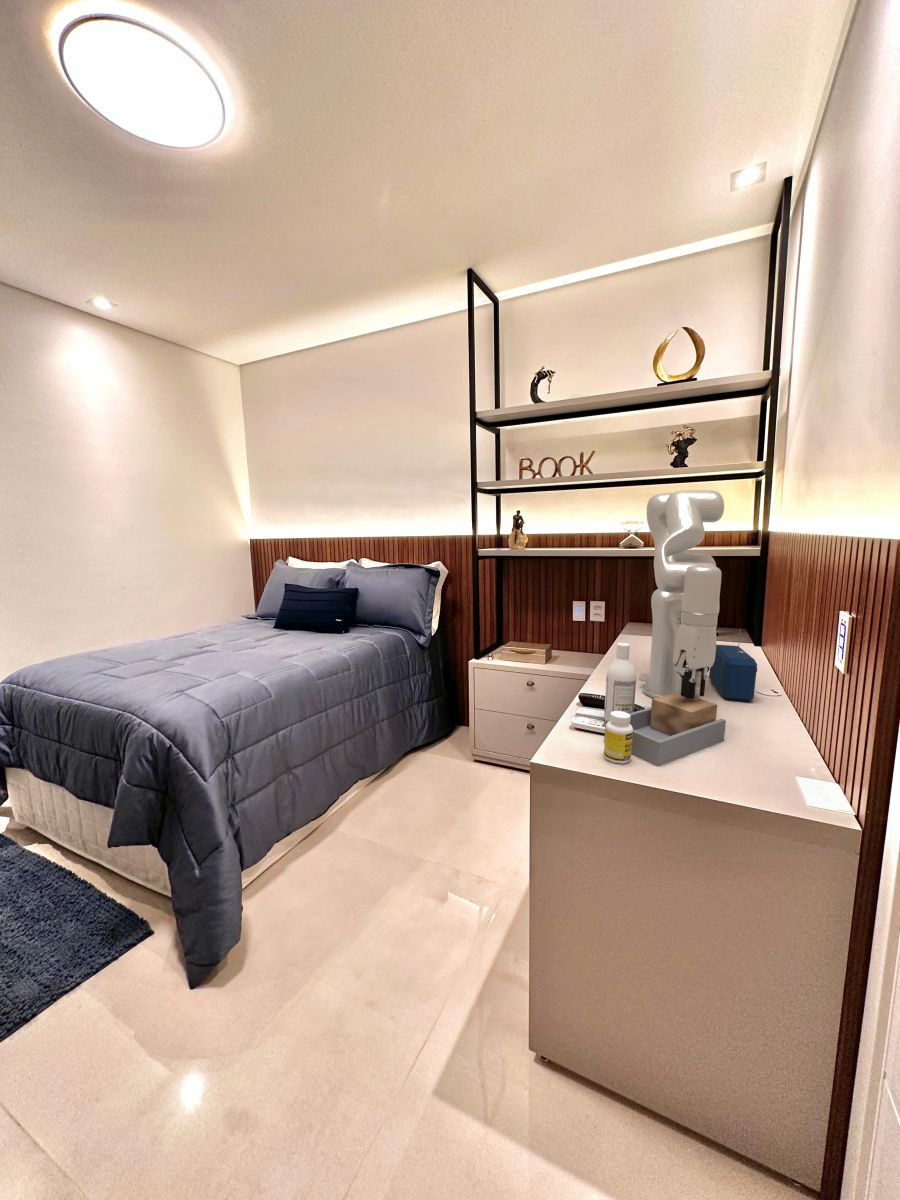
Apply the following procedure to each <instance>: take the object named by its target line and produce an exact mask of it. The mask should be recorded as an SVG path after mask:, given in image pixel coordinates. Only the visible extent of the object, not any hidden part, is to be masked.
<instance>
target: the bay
mask: <svg viewBox="0 0 900 1200" xmlns="http://www.w3.org/2000/svg"><path fill="white" fill-rule="evenodd" d="M651 707H652V706H651ZM651 707H647V708H642V709H640V710H636V711H634V712H632V713H629V714H630V723H629V724H630V725H631V726H632V728H633V736H632V748H631V755H634V756H635V757H638V758H640V759H642V760H644V761H646V762H648V763H651V764H653V765H655V766H657V767H660V766H662V765H664V764H667V763H670V762H672V761H675V760H677V759H681V758H684V757H685V756H688V755H690V754H693V753H696V752H698V751H701V750H704V749H707V748H708V747H711V746H714V745H716V744H719V743H723V742H724V741H725V735H726V733H725V732H726V722H727V720H726V719H724V718H720V719H716V721H713V722H710V723H707V724H704V725H702V726H699V727H696V728H693V729H690V730H687V731H684V732H681V733H678V734H675V735H672V736H671V735H669V734H666V733H664V732H661V731H659V730H656V729H654V728H651V727H650V720H651ZM609 721H611V720H610V719H608V720H606V721H605V720H604V722H605V723H604V724H605V725H604V732H605V731H606V724H607V723H608V722H609ZM603 741H604V742H605V736H604V739H603Z"/></svg>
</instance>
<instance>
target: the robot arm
mask: <svg viewBox="0 0 900 1200" xmlns="http://www.w3.org/2000/svg"><path fill="white" fill-rule="evenodd" d="M724 510H725V501H724V497H723V496H722V494H721V493H720V492H719V491H717V490H708V489H707V490H700V489H699V490H689V489H688V490H686V489H685V490H678V491H675V492H665V493H657V494H655V495H653V496H651V497H650V498H649V499H648V501H647V504H646V520H647V525H648V529H649V532H650V533H651V538H652V539H653V543H654V556H653V557H654V558H653V569H654V571H653V572H654V578H655V584H656V587H657V589H655V590H654V591H653V593H652V595H651V599H650V600H651V601H650V602H651V603H650V604H651V613H652V616H651V617H652V631H651V632H652V633H651V648H650V659H649V660H650V662H649V673H648V674H647V673H644V672H641V673H640V675H639V676H638V680H639V681H640V682H644V683H645V684H644V686H642V693H643V694H645V695H646V696H647V697H650V698H652V699H654V698H657V697H661V696H665V695H668V694H672V693H676V692H680V693H681V696H683V697H686V698H690V699H694V698H695V687H696V683H695V682H694V679H695V672H696V669H697V670H700V671H702V673H701V684H700V695H699V697H704V696H705V690H706V680H707V679H708V673H709V672H710V668H711V667H712V666H713V663H714V661H715V655H716V645H717V627H718V616H719V613H720V597H721V596H720V595H721V594H720V593H721V584H722V570H721V569H720V568H719V567H717V563H716V561H715V559H714V557H712V555H710V554H707V553H699V552H688V550H690V549H693V548H694V547H697V546H698V545H699V544H701V543H702V541H703V540H704V538H705V527H704V524H703V523H716V522H719V521H720V520H721V519H722V517H723V515H724ZM687 671H690V674H689V673H688V672H687Z"/></svg>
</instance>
